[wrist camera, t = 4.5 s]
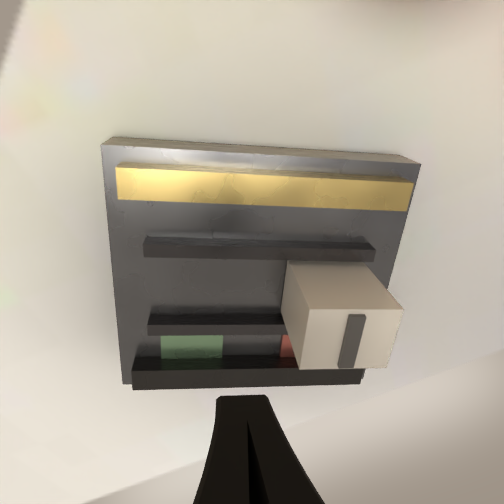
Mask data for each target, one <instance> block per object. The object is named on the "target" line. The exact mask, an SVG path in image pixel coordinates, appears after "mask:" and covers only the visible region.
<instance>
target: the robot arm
mask: <svg viewBox="0 0 504 504" xmlns="http://www.w3.org/2000/svg"><path fill="white" fill-rule="evenodd" d="M193 504H325V503H324V502H323V500H322V498H321V497H320V495H319V494H318V492H317V491H316V489H315V487H314V486H313V484H312V482H311V481H310V479H309V477H308V476H307V474H306V473H305V471H304V469H303V467H302V465H301V464H300V462H299V461H298V459H297V457H296V455H295V454H294V451H293V449H292V448H291V446H290V444H289V442H288V440H287V438H286V436H285V434H284V432H283V430H282V428H281V426H280V424H279V422H278V420H277V418H276V416H275V413H274V411H273V409H272V406H271V404H270V402H269V399H268V397H267V396H265V395H237V396H220V397H219V398H217V399H216V415H215V424H214V430H213V435H212V439H211V444H210V448H209V452H208V456H207V459H206V463H205V467H204V471H203V474H202V478H201V481H200V484H199V487H198V490H197V494H196V496H195V499H194V502H193Z"/></svg>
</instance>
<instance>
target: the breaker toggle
mask: <svg viewBox="0 0 504 504" xmlns="http://www.w3.org/2000/svg"><path fill="white" fill-rule="evenodd" d="M403 311H404V309H403V308H402V307H401V306H400V304H399V303H398V302H397V301H396V300H395V298H394V297H393V296H392V295H391V294H390V293H389V291H388V290H387V289H386V288H385V287H384V286H383V284H382V283H381V282H380V281H379V280H378V279H377V277H376V276H375V275H374V274H373V273H372V271H371V270H370V269H369V268H368V267H367V266H366V264H365V263H364V262H340V261H293V260H287V267H286V275H285V282H284V290H283V297H282V305H281V314H282V317H283V320H284V323H285V326H286V329H287V332H288V336H289V339H290V342H291V345H292V348H293V351H294V354H295V358H296V361H297V364H298V367H299V370H305V369H355V368H386V367H387V364H388V361H389V357H390V354H391V351H392V348H393V344H394V341H395V338H396V334H397V331H398V328H399V324H400V321H401V318H402V314H403Z"/></svg>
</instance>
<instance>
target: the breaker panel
mask: <svg viewBox="0 0 504 504" xmlns="http://www.w3.org/2000/svg"><path fill="white" fill-rule="evenodd" d="M101 154H102V165H103V176H104V187H105V197H106V208H107V219H108V230H109V241H110V252H111V262H112V273H113V284H114V295H115V306H116V317H117V327H118V338H119V349H120V360H121V371H122V382H123V384H132V388H133V390H158V389H196V388H234V387H272V386H310V385H349V384H360V382H361V379H363V377H364V373H365V369H366V368H355V369H305V370H299V367H298V364H297V361H296V358H295V354H294V351H293V348H292V345H291V342H290V339H289V336H288V332H287V329H286V326H285V323H284V320H283V317H282V314H281V305H282V297H283V290H284V282H285V275H286V267H287V260H293V261H340V262H364V263H365V264H366V266H367V267H368V268H369V269H370V270H371V271H372V273H373V274H374V275H375V276H376V277H377V279H378V280H379V281H380V282H381V283H382V284H383V286H384V287H385V288H386V289H387V288H388V285H389V281H390V277H391V273H392V270H393V266H394V262H395V259H396V255H397V251H398V248H399V244H400V240H401V237H402V233H403V229H404V226H405V222H406V218H407V215H408V211H409V207H410V204H411V200H412V196H413V192H414V189H415V185H416V181H417V178H418V174H419V170H420V167H421V164H420V163H418V162H415V161H413V160H410V159H408V158H405V157H403V156H400V155H391V154H375V153H360V152H344V151H328V150H312V149H297V148H281V147H265V146H249V145H233V144H218V143H202V142H186V141H170V140H155V139H139V138H123V137H112V138H110V139H109V140H107V141H105V142H104V143H102V144H101Z"/></svg>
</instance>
